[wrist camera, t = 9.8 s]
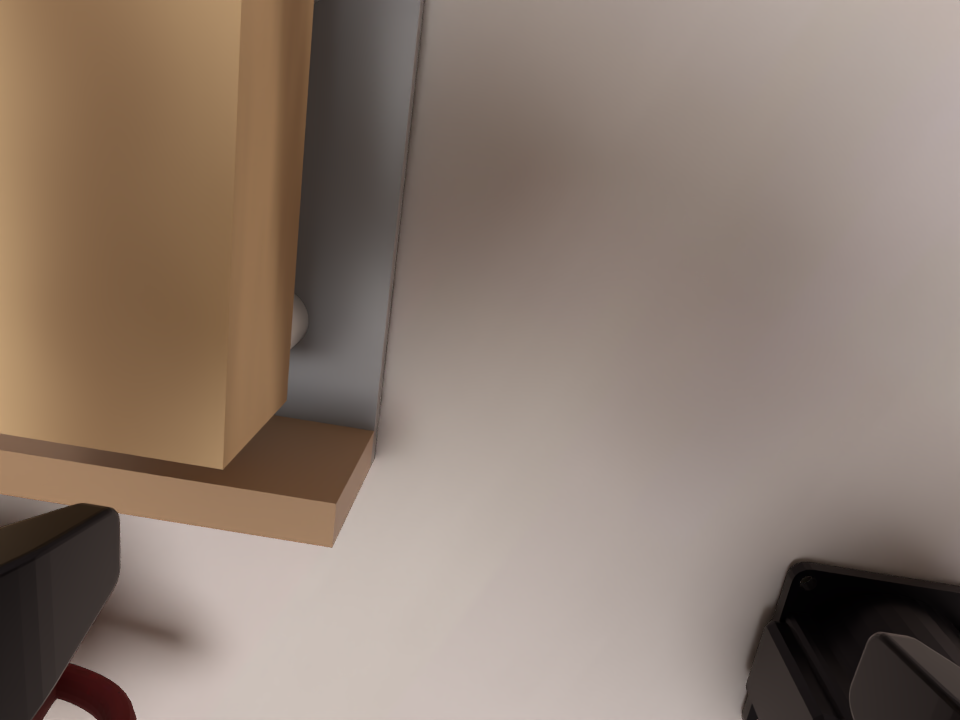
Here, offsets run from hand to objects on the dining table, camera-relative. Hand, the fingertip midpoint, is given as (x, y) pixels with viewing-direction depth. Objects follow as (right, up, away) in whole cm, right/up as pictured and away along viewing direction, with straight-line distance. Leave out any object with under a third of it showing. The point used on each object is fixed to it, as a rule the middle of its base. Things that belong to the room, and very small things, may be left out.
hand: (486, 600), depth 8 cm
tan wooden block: (-7, +8, +8) cm, 13 cm away
